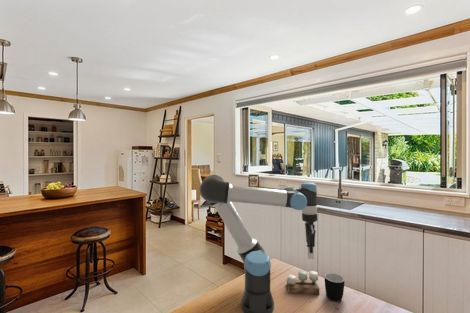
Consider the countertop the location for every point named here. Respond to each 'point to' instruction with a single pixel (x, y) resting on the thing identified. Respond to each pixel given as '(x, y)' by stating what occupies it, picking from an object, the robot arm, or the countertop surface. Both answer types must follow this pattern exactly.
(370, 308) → the countertop surface
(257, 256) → the robot arm
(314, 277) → the knob right
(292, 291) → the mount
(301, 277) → the knob mid
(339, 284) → the mug
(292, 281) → the knob left
